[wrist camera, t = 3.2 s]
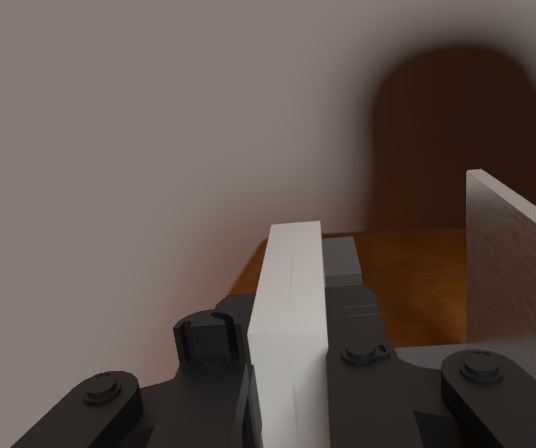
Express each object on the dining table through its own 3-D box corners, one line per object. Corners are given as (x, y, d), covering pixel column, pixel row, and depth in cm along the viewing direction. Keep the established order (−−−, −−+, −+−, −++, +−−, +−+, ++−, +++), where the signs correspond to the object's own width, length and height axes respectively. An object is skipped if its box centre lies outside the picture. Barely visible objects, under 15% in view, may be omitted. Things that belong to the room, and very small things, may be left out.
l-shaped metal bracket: (268, 376, 43) (243, 192, 38) (479, 364, 41) (481, 169, 36) (213, 814, 18) (119, 451, 13) (734, 836, 16) (852, 422, 11)
